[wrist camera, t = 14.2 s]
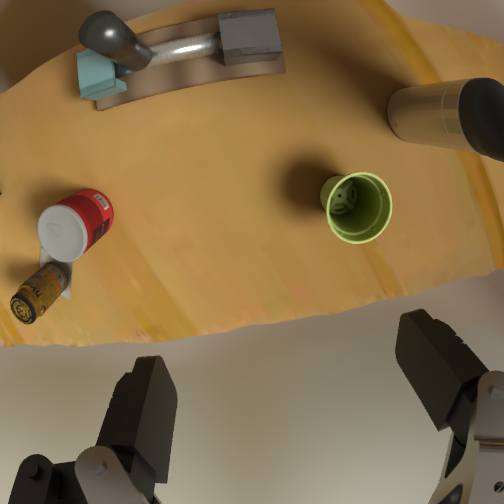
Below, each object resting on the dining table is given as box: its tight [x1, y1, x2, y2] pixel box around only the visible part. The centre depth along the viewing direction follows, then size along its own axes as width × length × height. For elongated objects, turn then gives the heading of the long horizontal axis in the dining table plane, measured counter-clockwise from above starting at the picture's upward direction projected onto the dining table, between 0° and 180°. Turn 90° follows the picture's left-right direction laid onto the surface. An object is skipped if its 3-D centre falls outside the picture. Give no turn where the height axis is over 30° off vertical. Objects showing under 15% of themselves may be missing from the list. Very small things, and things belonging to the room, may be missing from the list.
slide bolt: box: [79, 11, 224, 79], centre depth 26 cm, size 20×4×16 cm, turn 98°
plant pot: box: [320, 172, 392, 244], centre depth 40 cm, size 9×9×9 cm
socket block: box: [77, 49, 127, 101], centre depth 31 cm, size 5×7×5 cm
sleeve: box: [217, 9, 282, 66], centre depth 31 cm, size 7×6×5 cm
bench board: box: [96, 17, 286, 111], centre depth 34 cm, size 27×10×2 cm, turn 98°
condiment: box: [10, 247, 72, 324], centre depth 40 cm, size 7×8×12 cm
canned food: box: [37, 190, 114, 262], centre depth 38 cm, size 8×8×11 cm
